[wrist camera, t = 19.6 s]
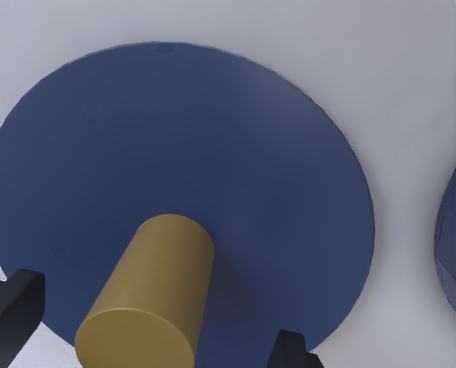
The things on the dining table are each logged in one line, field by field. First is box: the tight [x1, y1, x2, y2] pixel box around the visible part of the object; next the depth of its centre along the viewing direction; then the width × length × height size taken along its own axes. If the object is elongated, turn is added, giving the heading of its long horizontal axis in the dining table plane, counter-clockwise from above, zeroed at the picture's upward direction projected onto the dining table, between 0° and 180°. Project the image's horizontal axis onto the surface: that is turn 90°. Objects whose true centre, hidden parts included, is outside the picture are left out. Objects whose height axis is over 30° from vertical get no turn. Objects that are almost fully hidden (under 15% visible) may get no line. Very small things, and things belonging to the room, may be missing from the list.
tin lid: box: [0, 41, 375, 368], centre depth 14 cm, size 17×17×7 cm
